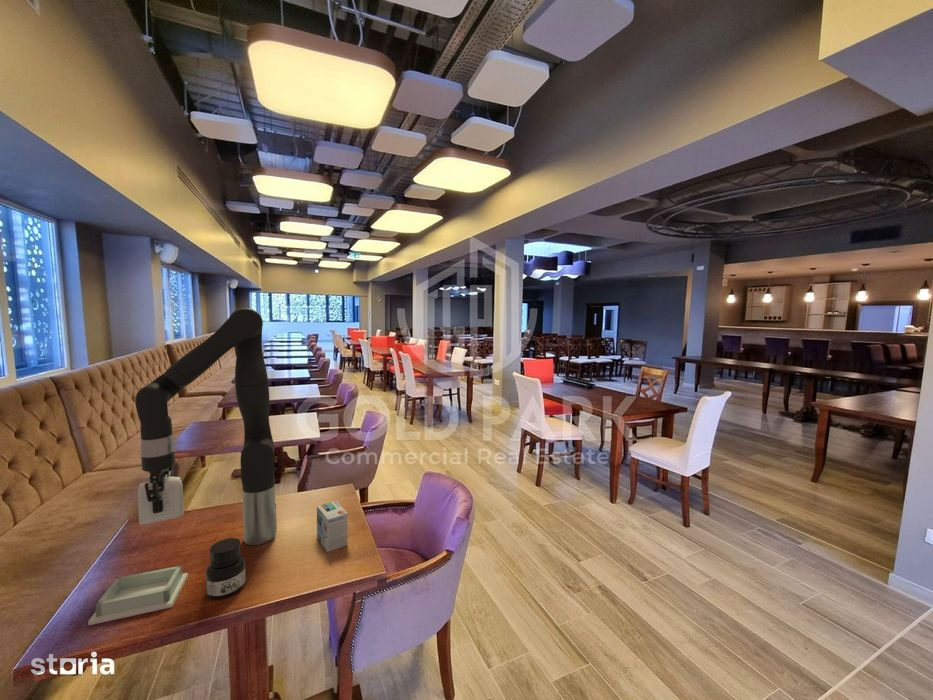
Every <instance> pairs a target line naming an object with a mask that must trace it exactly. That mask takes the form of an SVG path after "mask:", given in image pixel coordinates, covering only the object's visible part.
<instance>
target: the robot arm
mask: <svg viewBox="0 0 933 700" xmlns="http://www.w3.org/2000/svg"><path fill="white" fill-rule="evenodd" d="M263 326H264V321H263V318H262V315H261V314H260V313H259V312H258V311H256V310H255V309H253V308H250V307H249V308H248V307H242V308H238V309H236V310H234V311H233V312H231V313H230V315H229V317H228V318H227V320H225V322H224V323H222V325H221V326H219V328H218V329H217V330H216V331H215V332H214V333H213V334H212V335H211V336H209V337H208V338H207V339H206V340H204V341H203V342H201V343H200V344H198V345H197V346H196V347H194V348H192V349H191V350H190V351H188V352H187V353H185V354H184V355H183V356H182V357H180V358H179V359H178V360H177V361H175V362H174V363H173V364H171V365H170V366H169V367H168V368H167V369H166V370H165V371H164V372H163V373H162V374H161V375H159V376H158V377H156V378H155V379H154V380H151V382H150V383H148V384H146V385H145V386H143V387H141V388H140V389H139V390H138V391H137V393H136V395H135V399H134V401H135V403H134V404H135V410H136V413H137V416H138V419H139V422H140V423H139V424H140V429H139V430H140V458H141V469H142V472H145V473H146V472H147V473H149V477H148V481H149V483H146V484H145V490H146V495H147V500H148V502H152V506H153V513H161V512H162V511H163V499H162V498H163V491H164V490H165V482H166V480H167V477H174V466H175V464H176V454H175V453H176V451H175V439H174V435H173V421H172V418H171V416H169V409H168V402H169V401H170V400H172V399H173V398H174V397H175V396H176V395H177V394H179V392H181V391H182V390H183V389H184V388H185V387H187V386H189V385H190V384H192V383H193V382H194V381H196V380H197V379H198V378H199V377H200V376H201V375H202V374H204V373H205V372H207V370H209V369H210V368H211V367H212V366H213V365H214V364H216V362H218V361H219V360H220V359H221V358H222V357H223V356H224V355H225V354H227V353H228V352H229V351H231V350H232V349H233V348H234V347H235V351H236V352H235V355H236V356H235V367H234V368H235V369H234V386H235V395H236V401H237V405H238V408H239V413H240V415H241V418H242V420H243V428H244V430H243V431H244V440H243V446H242V447H243V448H242V451H241V452H240V480H241V481H240V482H241V484H242V485H241V486H242V519H243V542H244V544H245V545H248V546H259V545H263V544H265V543H268V542H270V541H272V540H276V535H277V503H276V483H275V482H276V479H275V478H276V477H275V443H274V439H273V435H272V430H271V426H270V387H269V386H270V385H269V376H268V371H267V367H266V363H265V358H264V352H263V341H262V339H263ZM161 486H162V487H161ZM158 487H161V488H160V489H158ZM154 495H156V496H154Z"/></svg>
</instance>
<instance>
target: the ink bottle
mask: <svg viewBox="0 0 933 700" xmlns="http://www.w3.org/2000/svg"><path fill="white" fill-rule="evenodd" d="M241 547H242V546H241V540H240V538H237V537H236V538H235V537H230V538H224V539H221V540H219V541H217V542H214V543H213V544H212V545H211V546H210V548H209V559H210V562H209V563H210V564H209V565H208V566H207V567H206V570H205V582H206V583H205V590H206V596H207V597H208V598H209V599H212V600H220V599H224V598H225V599H226V598H229V597H230V596H233V595H235V594H237V593H238V592H240V591H241V590H242V589H243V588H244V587H245V585H246V583H247V582H246V581H247V577H246V576H247V575H246V559H245V557H244V556H243V555H241V550H242V549H241Z"/></svg>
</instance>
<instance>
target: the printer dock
mask: <svg viewBox="0 0 933 700" xmlns="http://www.w3.org/2000/svg"><path fill="white" fill-rule="evenodd" d="M188 577H189V573H188V572H185V573H183V565H179V566H173V567H166V568H161V569H156V570H151V571H146V572H145V571H144V572H140V573H135V574H129V575H123V576H118V577H115V579H114V580H113V582H112V583H111V584H110V586H109V587H108V588H107V590H105V592H104V593H103V595H102V596H101V597H100V599H98V601H97V603H96V604H95V605H94V606H95V611H94V613H93V614H92V616H91V617H90V618H89V620H88V622H87V624H88V626H92V625H96V624H102V623H105V622H111V621H114V620H118V619H119V620H120V619H124V618H130V617H133V616H137V615H138V616H139V615H143V614H146V613H151V612H156V611H159V610H160V611H161V610H165V609H170V608H173V607H174V606H175V605H174V604H175V603H176V600H177V599H178V597H179V595H180V592H181V591H182V589H183V587H184V585H185V583H186V580H187V579H188Z"/></svg>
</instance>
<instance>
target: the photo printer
mask: <svg viewBox="0 0 933 700" xmlns="http://www.w3.org/2000/svg"><path fill="white" fill-rule="evenodd" d="M146 483H149V480H147V481H145V482H142V483H140V484H139V485H138V489H137V504H138V505H137V508H138V509H137V510H138V524H139V525H140V526H143V525H149V524H150V525H151V524H153V523H158V522H162V521H167V520H172V519H176V518H180V517H182V516H184V513H185V512H184V511H185V510H184V490H183V481H182V480H181V477H180V476H173V477H167V480H166V482H165V490H164V491H163V498H162V499H163V511H162V512H161V513H153V506H152V502H148V500H147V495H146V490H145V484H146ZM161 487H162V486H161ZM161 487H158V489H160V488H161ZM154 496H156V495H154Z"/></svg>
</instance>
